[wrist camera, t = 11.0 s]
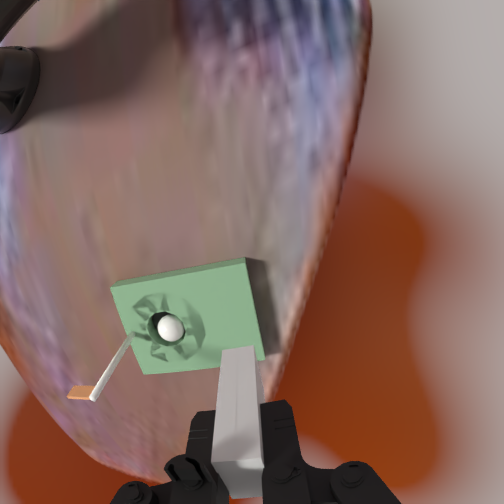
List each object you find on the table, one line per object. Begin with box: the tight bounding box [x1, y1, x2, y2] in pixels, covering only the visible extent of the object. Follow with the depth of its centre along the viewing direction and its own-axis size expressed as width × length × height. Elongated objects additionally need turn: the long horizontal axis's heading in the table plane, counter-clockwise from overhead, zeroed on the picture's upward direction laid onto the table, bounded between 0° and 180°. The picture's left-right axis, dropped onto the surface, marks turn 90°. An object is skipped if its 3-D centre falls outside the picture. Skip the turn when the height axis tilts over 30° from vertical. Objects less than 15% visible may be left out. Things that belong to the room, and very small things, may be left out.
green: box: [67, 257, 265, 402], centre depth 31 cm, size 21×14×16 cm
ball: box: [158, 315, 184, 341], centre depth 38 cm, size 4×4×4 cm
